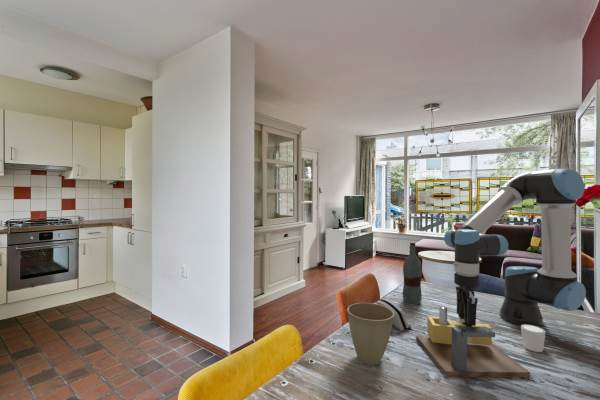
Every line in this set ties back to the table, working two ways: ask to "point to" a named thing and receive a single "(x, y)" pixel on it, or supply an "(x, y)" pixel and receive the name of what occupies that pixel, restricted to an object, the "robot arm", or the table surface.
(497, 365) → the board
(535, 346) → the white cylinder
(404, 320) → the white d-shaped block
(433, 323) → the link
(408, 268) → the bottle
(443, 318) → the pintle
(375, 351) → the plant pot
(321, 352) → the table surface
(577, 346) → the table surface
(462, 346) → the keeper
